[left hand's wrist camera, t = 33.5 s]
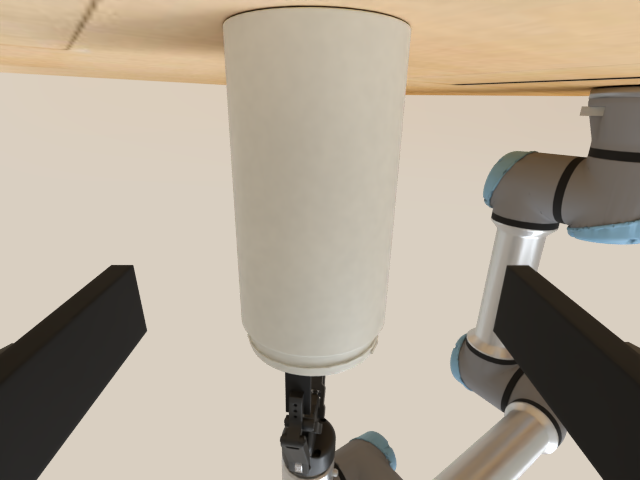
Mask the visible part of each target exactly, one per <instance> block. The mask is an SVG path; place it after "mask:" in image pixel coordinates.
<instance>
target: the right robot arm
mask: <svg viewBox="0 0 640 480" xmlns="http://www.w3.org/2000/svg"><path fill="white" fill-rule="evenodd" d="M580 115H581V116H589V117H590V126H591V136H592V142H591V146H590V150H589V154H588V157H577V156H567V155H557V154H547V153H538V152H536V151H530V152H522V151H514V152H510V153H508V154H506V155H505V156H503V157H502V158H501V159H500V160H499V161H498V162H497V163H496V164H495V165H494V167H493V168H492V170H491V171H490V173H489V175H488V177H487V180H486V183H485V186H484V191H483V197H484V198H485V199H484V201H485V203H486V205H488V206H489V207H491V208H493V212H492V217H491V220H492V221H493V222H494V224H495V225H496V226H497V233H496V237H495V242H494V247H493V251H492V256H491V260H490V265H489V270H488V274H487V279H486V284H485V288H484V293H483V298H482V302H481V307H480V312H479V316H478V321H477V326H476V328H474V329H471V330H470V331H469V332H468V333H467V334H465V335H463V336H462V337H461V338H460V339H459V340H458V341H457V343H456V347H455V348H454V349H453V351H452V355H451V362H450V365H451V371H452V374H453V376H454V377H455V378H456V380H458V381H459V382H460V383H461V384H463V385H464V386H465V387H466V388H467V389H468V390H470V391H474V392H475V393H476V394H478V395H479V396H481V397H482V398H484V399H485V400H486V401H488V402H489V403H491V404H492V405H494V406H495V407H497V408H498V409H499V410H501V411H502V412H504V418H503V419H501V420H500V421H499V422H498V423H497V424H496V425H495V426H493V427H492V428H491V429H490V430H489V431H488V432H487V433H485V434H484V435H483V436H482V437H481V438H480V439H479V440H478V441H476V442H475V443H474V444H473V445H472V446H471V447H470V448H468V449H467V450H466V451H465V452H464V453H463V454H462V455H460V456H459V457H458V458H457V459H456V460H455V461H454V462H453V463H451V464H450V465H449V466H448V467H447V468H446V469H445V470H443V471H442V472H441V473H440V474H439V475H438V476H437V477H435V478H434V479H433V480H517V479H519V477H520V476H521V475H522V474H523V473H524V472H525V471H526V470H527V469H528V468H529V467H530V466H531V464H532V463H533V462H534V461H535V460H536V459H537V458H538V457H539V456H540V455H541V454H549V453H552V452H553V451H554V450H556V448H557V447H558V446H559V445H560V444H561V443H562V441H563V440H564V438H565V435H566V432H567V430H566V429H565V427H564V426H563V425H562V423H561V422H560V421H559V419H558V418H557V417H556V415H555V414H554V413H553V411H552V410H551V408H550V407H549V406H548V404H547V403H546V402H545V400H544V399H543V398H542V396H541V395H540V394H539V392H538V391H537V390H536V388H535V387H534V386H533V384H532V383H531V381H530V380H529V379H528V377H527V376H526V375H525V373H524V372H523V371H522V369H521V368H520V367H519V365H518V364H517V363H516V361H515V360H514V359H513V357H512V356H511V355H510V353H509V352H508V350H507V349H506V348H505V346H504V345H503V344H502V342H501V341H500V340H499V338H498V337H497V336H496V334H495V333H494V332H493V328H494V324H495V319H496V314H497V309H498V305H499V300H500V295H501V290H502V286H503V281H504V276H505V271H506V266H507V265H529V266H530V267H532V268H533V269H534V270H535V271H536V272H537V269H538V266H539V262H540V258H541V254H542V250H543V247H544V243H545V239H546V236H548V235H549V234H551V233H553V232H555V231H557V230H558V227H559V223H563V224H567V225H569V226H568V227H567V230H568V234H569V235H570V236H572V237H575V238H577V239H580V240H584V241H589V242H596V243H605V244H638V243H640V86H638V87H613V88H598V89H592V90H591V92H590V96H589V102H588V107H582V109H581V112H580ZM285 387H286V412H289V415H286V418H285V420H284V423H285V428H284V430H283V433H282V436H281V438H280V442H281V447H282V480H403V479H402V478H401V477H400V476H399V475H398V474H397V473H396V472H395V469H396V458H395V454H394V452H393V450H392V448H391V447H390V446H389V445H388V441H387V440H386V439H385V438H384V437H383V436H382V435H380V434H379V433H377V432H374V431H369V432H367V433H365V434H363V435H361V436H359V437H357V438H354V439H352V440H350V441H349V443H347V444H346V445H344V446H343V447H341V448H340V449H338V450H337V451H335V441H336V436H335V431H334V429H333V427H332V425H331V424H330V423H329V422H328V421H327V420H326V419H325V418H324V416H325V405H324V398H325V375H324V376H303V375H296V374H290V373H287V372H285ZM319 397H320V398H319Z"/></svg>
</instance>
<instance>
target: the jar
mask: <svg viewBox="0 0 640 480" xmlns="http://www.w3.org/2000/svg"><path fill="white" fill-rule="evenodd" d="M223 38H224V54H225V69H226V84H227V100H228V115H229V130H230V146H231V161H232V177H233V192H234V208H235V222H236V238H237V253H238V269H239V284H240V300H241V315H242V323H243V326H244V328H245V330H246V331H247V333H248V338H249V341H250V344H251V346H252V348H253V350H254V352H255V353H256V355H257V356H258V357H259V358H260V359H261V360H262V361H264V362H265V363H266V364H268V365H270V366H272V367H273V368H275V369H278V370H281V371H283V372H287V373H290V374H296V375H303V376H324V375H331V374H336V373H340V372H343V371H347V370H349V369H351V368H353V367H355V366H357V365H359V364H360V363H362V362H363V361H364V360H365V359H366V358H367V357H368V356H369V355H370V354H372V353H373V352H374V350H375V348H376V346H377V343H378V334H379V333H380V331H381V330H382V328H383V325H384V320H385V310H386V299H387V288H388V277H389V266H390V255H391V244H392V233H393V223H394V212H395V201H396V190H397V179H398V168H399V157H400V146H401V136H402V125H403V114H404V103H405V92H406V81H407V71H408V60H409V49H410V38H411V27H410V26H409V25H408V24H407V23H406V22H404V21H402V20H400V19H397V18H394V17H391V16H387V15H384V14H379V13H374V12H368V11H361V10H353V9H343V8H327V7H288V8H273V9H264V10H257V11H251V12H246V13H242V14H238V15H236V16H233V17H230V18H229V19H227V20H226V21H225V22H224V24H223Z"/></svg>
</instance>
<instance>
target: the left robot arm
mask: <svg viewBox="0 0 640 480" xmlns="http://www.w3.org/2000/svg"><path fill="white" fill-rule="evenodd" d="M146 332H147V328H146V324H145V319H144V314H143V309H142V305H141V300H140V295H139V290H138V286H137V281H136V276H135V271H134V267H133V265H111V266H110V267H108V268H107V269H106V270H105V271H104V272H102V273H101V274H100V275H99V276H97V277H96V278H95V279H94V280H92V281H91V282H90V283H89V284H87V285H86V286H85V287H84V288H82V289H81V290H80V291H79V292H77V293H76V294H75V295H74V296H72V297H71V298H70V299H69V300H67V301H66V302H65V303H64V304H62V305H61V306H60V307H59V308H57V309H56V310H55V311H54V312H52V313H51V314H50V315H49V316H48V317H46V318H45V319H44V320H43V321H41V322H40V323H39V324H38V325H36V326H35V327H34V328H33V329H31V330H30V331H29V332H28V333H26V334H25V335H24V336H23V337H21V338H20V339H19V340H18V341H16V342H15V343H12V344H10V345H8V346H6V347H4V348H2V349H0V480H37V479H38V477H39V476H40V475H41V473H42V472H43V470H44V469H45V468H46V466H47V465H48V464H49V462H50V461H51V460H52V458H53V457H54V456H55V454H56V453H57V452H58V450H59V449H60V448H61V446H62V445H63V444H64V442H65V441H66V439H67V438H68V437H69V435H70V434H71V433H72V431H73V430H74V429H75V427H76V426H77V425H78V423H79V422H80V421H81V419H82V418H83V416H84V415H85V414H86V412H87V411H88V410H89V408H90V407H91V406H92V404H93V403H94V402H95V400H96V399H97V398H98V396H99V395H100V394H101V392H102V391H103V390H104V388H105V387H106V385H107V384H108V383H109V381H110V380H111V379H112V377H113V376H114V375H115V373H116V372H117V371H118V369H119V368H120V367H121V365H122V364H123V363H124V361H125V360H126V359H127V357H128V356H129V355H130V353H131V352H132V350H133V349H134V348H135V346H136V345H137V344H138V342H139V341H140V340H141V338H142V337H143V336H144V334H145V333H146ZM493 332H494V333H495V334H496V336H497V337H498V338H499V340H500V341H501V342H502V344H503V345H504V346H505V348H506V349H507V350H508V352H509V353H510V355H511V356H512V357H513V359H514V360H515V361H516V363H517V364H518V365H519V367H520V368H521V369H522V371H523V372H524V373H525V375H526V376H527V377H528V379H529V380H530V381H531V383H532V384H533V386H534V387H535V388H536V390H537V391H538V392H539V394H540V395H541V396H542V398H543V399H544V400H545V402H546V403H547V404H548V406H549V407H550V408H551V410H552V411H553V413H554V414H555V415H556V417H557V418H558V419H559V421H560V422H561V423H562V425H563V426H564V427H565V429H566V430H567V431H568V433H569V434H570V435H571V437H572V438H573V439H574V441H575V442H576V443H577V445H578V446H579V448H580V449H581V450H582V452H583V453H584V454H585V456H586V457H587V458H588V460H589V461H590V462H591V464H592V465H593V466H594V468H595V469H596V470H597V472H598V473H599V475H600V476H601V477H602V479H603V480H640V348H639V347H637V346H635V345H633V344H631V343H629V342H624V341H622V340H621V339H620V338H619V337H617V336H616V335H615V334H614V333H612V332H611V331H610V330H609V329H607V328H606V327H605V326H604V325H602V324H601V323H600V322H599V321H598V320H596V319H595V318H594V317H593V316H591V315H590V314H589V313H587V312H586V311H585V310H584V309H583V308H581V307H580V306H579V305H578V304H576V303H575V302H574V301H573V300H571V299H570V298H569V297H568V296H566V295H565V294H564V293H563V292H561V291H560V290H559V289H558V288H556V287H555V286H554V285H553V284H551V283H550V282H549V281H548V280H546V279H545V278H544V277H543V276H541V275H540V274H539V273H538V272H536V271H535V270H534V269H533V268H532V267H530V266H529V265H507V266H506V271H505V276H504V281H503V286H502V290H501V295H500V300H499V305H498V309H497V314H496V319H495V324H494V328H493Z"/></svg>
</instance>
